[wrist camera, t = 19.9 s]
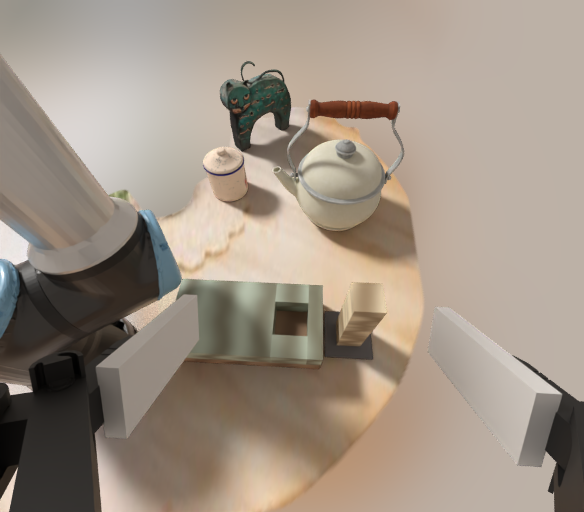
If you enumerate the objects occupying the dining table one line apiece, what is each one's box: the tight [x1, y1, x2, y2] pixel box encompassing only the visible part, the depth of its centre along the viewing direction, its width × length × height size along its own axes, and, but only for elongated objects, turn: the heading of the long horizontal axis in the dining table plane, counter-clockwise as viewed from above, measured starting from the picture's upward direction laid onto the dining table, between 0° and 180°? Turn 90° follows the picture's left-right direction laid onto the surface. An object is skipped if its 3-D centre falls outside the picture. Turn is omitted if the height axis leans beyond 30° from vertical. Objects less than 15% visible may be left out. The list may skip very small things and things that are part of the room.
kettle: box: [272, 100, 404, 231], centre depth 54 cm, size 25×18×25 cm
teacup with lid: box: [203, 147, 248, 202], centre depth 64 cm, size 12×9×12 cm
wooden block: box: [336, 282, 387, 346], centre depth 41 cm, size 4×4×16 cm
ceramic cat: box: [220, 61, 291, 151], centre depth 71 cm, size 20×6×20 cm, turn 130°
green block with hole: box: [176, 279, 323, 369], centre depth 46 cm, size 24×12×7 cm, turn 87°
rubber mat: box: [325, 311, 373, 360], centre depth 48 cm, size 8×8×1 cm
